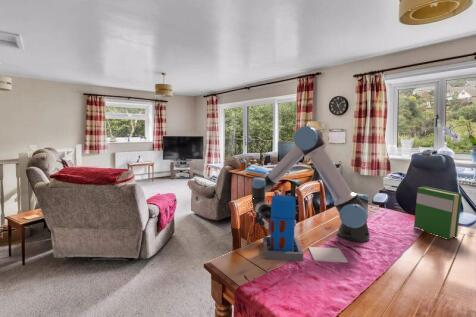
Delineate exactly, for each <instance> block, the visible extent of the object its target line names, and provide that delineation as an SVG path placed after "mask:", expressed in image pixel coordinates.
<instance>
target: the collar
mask: <svg viewBox="0 0 476 317" xmlns="http://www.w3.org/2000/svg"><path fill="white" fill-rule="evenodd" d="M262 238H263V239H262V246H263V259H264V260H282V261H284V260H285V261H299V260H301V262H303V261H304V252H303V250H302V246H301V244H300V242H299V240H298V237H294V248H295V251H293V252H284V251H270V250H268V245H270V236H263V237H262Z"/></svg>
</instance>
